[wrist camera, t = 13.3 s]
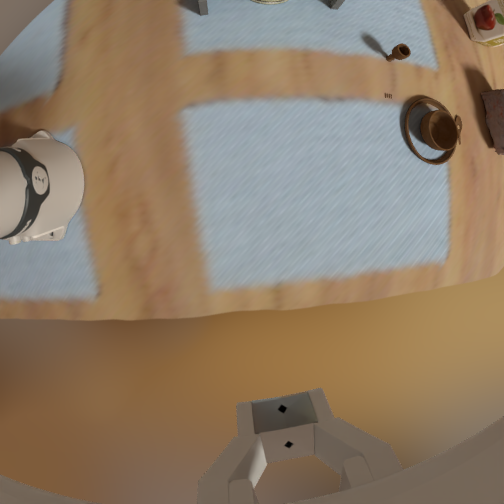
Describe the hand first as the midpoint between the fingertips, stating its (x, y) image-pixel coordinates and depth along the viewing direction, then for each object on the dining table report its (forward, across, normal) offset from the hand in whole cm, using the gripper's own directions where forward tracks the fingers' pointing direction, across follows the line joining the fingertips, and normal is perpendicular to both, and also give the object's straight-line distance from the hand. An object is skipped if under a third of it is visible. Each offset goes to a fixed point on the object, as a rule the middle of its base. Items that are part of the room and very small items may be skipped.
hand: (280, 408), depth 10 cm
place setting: (+38, -35, -16) cm, 54 cm away
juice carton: (+37, -56, -36) cm, 76 cm away
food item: (+38, -55, -14) cm, 68 cm away
